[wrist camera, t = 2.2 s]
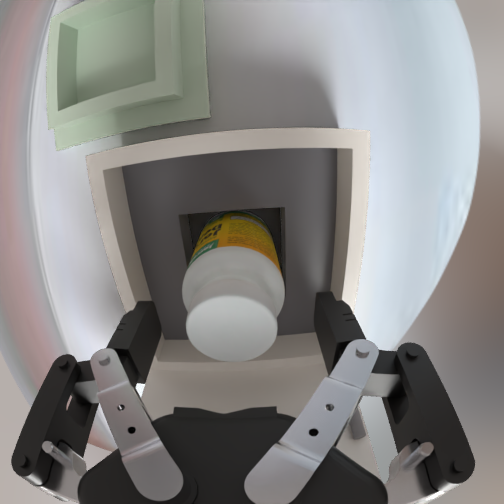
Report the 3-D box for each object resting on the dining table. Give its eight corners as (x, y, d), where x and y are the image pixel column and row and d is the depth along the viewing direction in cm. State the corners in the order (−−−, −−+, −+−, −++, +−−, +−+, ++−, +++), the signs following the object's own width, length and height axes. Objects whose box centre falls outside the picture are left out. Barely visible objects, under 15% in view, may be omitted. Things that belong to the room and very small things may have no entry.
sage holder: (61, 20, 11) (38, 11, 8) (203, -26, 11) (196, -48, 8) (62, 149, 16) (36, 156, 13) (210, 117, 16) (203, 115, 13)
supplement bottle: (251, 285, 22) (255, 383, 13) (188, 257, 20) (155, 348, 12) (286, 227, 20) (317, 311, 11) (219, 194, 18) (196, 258, 10)
